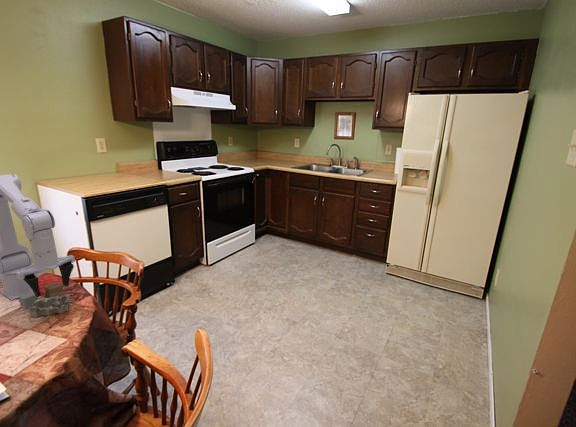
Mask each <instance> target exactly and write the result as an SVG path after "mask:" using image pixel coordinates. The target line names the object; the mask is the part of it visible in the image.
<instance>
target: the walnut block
mask: <svg viewBox="0 0 576 427" xmlns="http://www.w3.org/2000/svg"><path fill="white" fill-rule="evenodd" d="M43 288H44V293H45V297H46V298H50V297H55V296H58V297H60V296H64V295H65V292H64V287H63V283H62V284H61V283H60V282H58V281H55V282H52V283H50V284H47V285H43Z"/></svg>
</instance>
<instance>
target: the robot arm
mask: <svg viewBox="0 0 576 427" xmlns="http://www.w3.org/2000/svg"><path fill="white" fill-rule="evenodd" d="M9 203H11V206H10V205H9ZM10 207H11V208H10ZM11 210H12V212H14V214H15V215H16V216H17V217H18V218H19V219H20V220H21V226H22V228H23V231H24V232H25V236H26V238H27V239H28V240H29V244H30V248H31V249H30V248H29V247H28V246H27V245H25V244H23V243H19V241H18V236H17V233H16V229H15V225H14V221H13V217H12V213H11ZM55 226H56V220H55V218H54V214H53V213H52V212H51V210H49V209H46V208H42V207H40V206H39V204H37V203H36V202H35V201H34V200H33V199H32V198H30V197H28V196H25V195H24V194H23V192H22V182H21V180H20V177H19V176H18V175H16V174H15V173H9V174H1V175H0V281H1V283H2V284H1V285H2V288H3V290H1V291H0V294H2V295H4V296H5V297H6V298H7V299H9V300H10V301H12V300H16V299H19V297H18V296H19V295H21V294H24V293H27V292H30V291H33V292H34V294H35V296H37V297H38V298H40V297H41V291H40V286H39V284H40V283H39V278H38V277H36V276H37V275H36V274H41V273H42V272H46V271H52V270H55V269H57V268H58V269H59V272H60V275H61V282H62V286H65V287H69V284H70V278H71V274H72V272H73V269H74V263H75V262H76V258H75V256H74V255H72V254H71V255H66V256H61V257H58V253H57V248H56V243H55V238H54V232H53V229H54V228H55ZM30 250H31V251H30Z"/></svg>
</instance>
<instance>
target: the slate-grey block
mask: <svg viewBox="0 0 576 427" xmlns="http://www.w3.org/2000/svg"><path fill="white" fill-rule="evenodd" d="M18 297H19V298H18V301H19V304H20V307H22V308H23V309H24V310H27V308H31V305H33V303H34V302H35V301H36V300H38V299H40V297H37V296H35V294H34V292H33V291H30V292H27V293H24V294H21V295H19V296H18Z"/></svg>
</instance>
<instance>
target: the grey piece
mask: <svg viewBox="0 0 576 427" xmlns="http://www.w3.org/2000/svg"><path fill="white" fill-rule="evenodd" d="M70 297H71V296H70V293H67V294H64V295H61V296H59V297H58V296H55V297H50V298H49V297H41V298H40V297H39V299H38V300H36V301H35V302H34V303H33V305H31V308H27V309H26V310H27V311H28V312H29V315H30V316H29V317H30V318H33V319H35V318H38V317H40V316H46V317H49V316H51V315H53V314H55V313H56V314H57V313H58V314H60V315H61V314H63V313H64V312H67V311H68V310H69V306H70V305H71V300H70ZM49 307H51V308H49Z"/></svg>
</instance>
